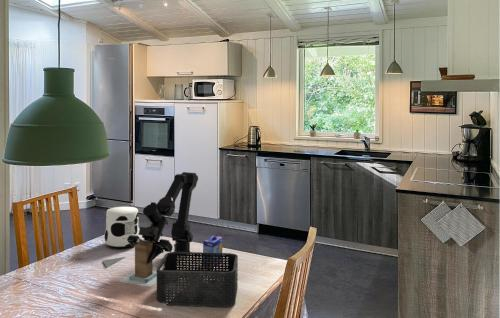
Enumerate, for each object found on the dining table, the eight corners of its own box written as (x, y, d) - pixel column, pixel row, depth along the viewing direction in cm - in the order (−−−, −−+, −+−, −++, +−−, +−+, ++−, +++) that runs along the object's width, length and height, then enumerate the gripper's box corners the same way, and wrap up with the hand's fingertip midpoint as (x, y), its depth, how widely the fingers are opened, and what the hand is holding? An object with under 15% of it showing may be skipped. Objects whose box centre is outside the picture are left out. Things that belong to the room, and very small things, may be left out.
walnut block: (141, 273, 169) (141, 241, 167) (152, 275, 167) (152, 242, 166) (135, 278, 164) (134, 245, 162) (145, 280, 163) (145, 246, 161)
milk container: (113, 238, 217) (113, 205, 215) (145, 240, 215) (145, 206, 213) (98, 249, 199) (97, 213, 197) (132, 251, 198) (132, 215, 196)
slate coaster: (125, 258, 189) (125, 256, 189) (130, 265, 180) (130, 264, 180) (102, 261, 184) (102, 260, 184) (107, 269, 175) (107, 267, 175)
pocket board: (138, 270, 175) (138, 266, 174) (167, 275, 170) (167, 270, 170) (118, 283, 161) (118, 278, 161) (149, 288, 157) (149, 283, 157)
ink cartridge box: (213, 270, 178) (213, 237, 176) (201, 267, 180) (202, 235, 178) (222, 262, 187) (223, 231, 185) (212, 260, 189) (212, 230, 187)
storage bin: (154, 305, 144) (153, 269, 143) (166, 282, 164) (166, 250, 162) (234, 309, 144) (235, 272, 142) (238, 285, 163) (238, 253, 161)
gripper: (129, 216, 170) (113, 250, 160) (169, 220, 164) (154, 256, 155) (140, 229, 178) (125, 262, 169) (178, 234, 172) (165, 269, 163)
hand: (141, 262), depth 164 cm, fingers closed on walnut block, 5 cm apart
